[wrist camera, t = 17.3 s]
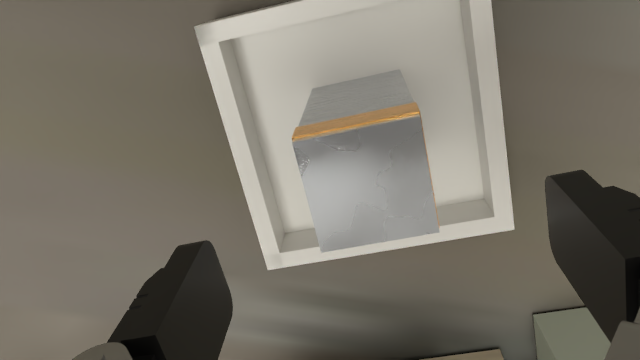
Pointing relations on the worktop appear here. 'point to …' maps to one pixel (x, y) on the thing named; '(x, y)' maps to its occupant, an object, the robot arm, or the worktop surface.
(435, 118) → the tray
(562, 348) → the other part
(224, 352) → the worktop surface
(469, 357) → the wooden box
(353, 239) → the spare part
